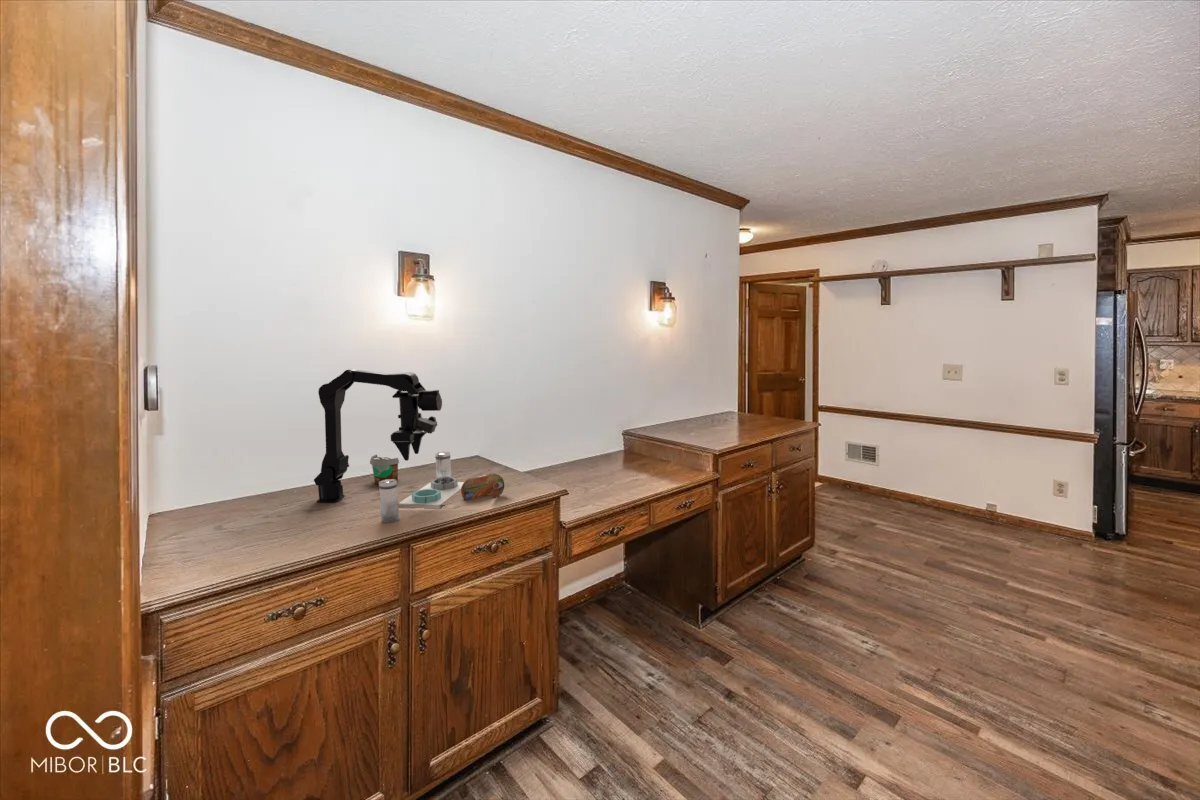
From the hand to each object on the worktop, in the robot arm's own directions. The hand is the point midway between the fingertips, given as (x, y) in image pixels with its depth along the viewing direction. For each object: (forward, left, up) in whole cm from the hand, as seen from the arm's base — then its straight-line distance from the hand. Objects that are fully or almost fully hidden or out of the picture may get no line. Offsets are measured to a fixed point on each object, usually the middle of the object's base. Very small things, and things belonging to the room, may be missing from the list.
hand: (411, 456), depth 178 cm
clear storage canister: (0, -20, -15) cm, 24 cm away
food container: (-18, +18, -15) cm, 30 cm away
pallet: (+6, +3, -15) cm, 16 cm away
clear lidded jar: (+7, +10, -13) cm, 18 cm away
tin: (+23, -1, -15) cm, 28 cm away
